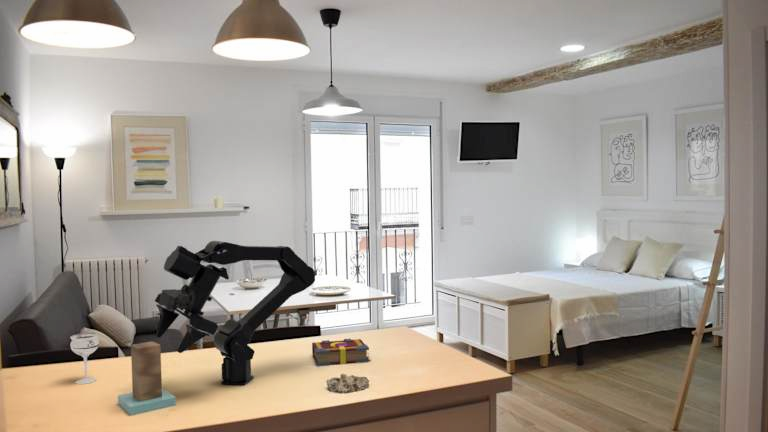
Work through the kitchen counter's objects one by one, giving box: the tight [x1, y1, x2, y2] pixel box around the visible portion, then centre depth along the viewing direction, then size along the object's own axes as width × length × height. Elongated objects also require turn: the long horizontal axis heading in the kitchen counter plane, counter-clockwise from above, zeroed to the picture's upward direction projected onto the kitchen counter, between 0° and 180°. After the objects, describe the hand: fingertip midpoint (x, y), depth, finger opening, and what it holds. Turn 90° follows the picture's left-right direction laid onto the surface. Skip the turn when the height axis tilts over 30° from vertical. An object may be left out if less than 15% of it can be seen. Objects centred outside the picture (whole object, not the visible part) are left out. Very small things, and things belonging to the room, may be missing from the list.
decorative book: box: [311, 338, 370, 367], centre depth 176 cm, size 11×16×5 cm
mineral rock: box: [325, 373, 370, 394], centre depth 149 cm, size 11×4×8 cm
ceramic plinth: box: [117, 387, 177, 417], centre depth 140 cm, size 10×10×2 cm
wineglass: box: [69, 332, 100, 385], centre depth 158 cm, size 7×7×12 cm
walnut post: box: [130, 341, 163, 401], centre depth 139 cm, size 5×5×12 cm
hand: (168, 344), depth 147 cm, fingers open, 9 cm apart
